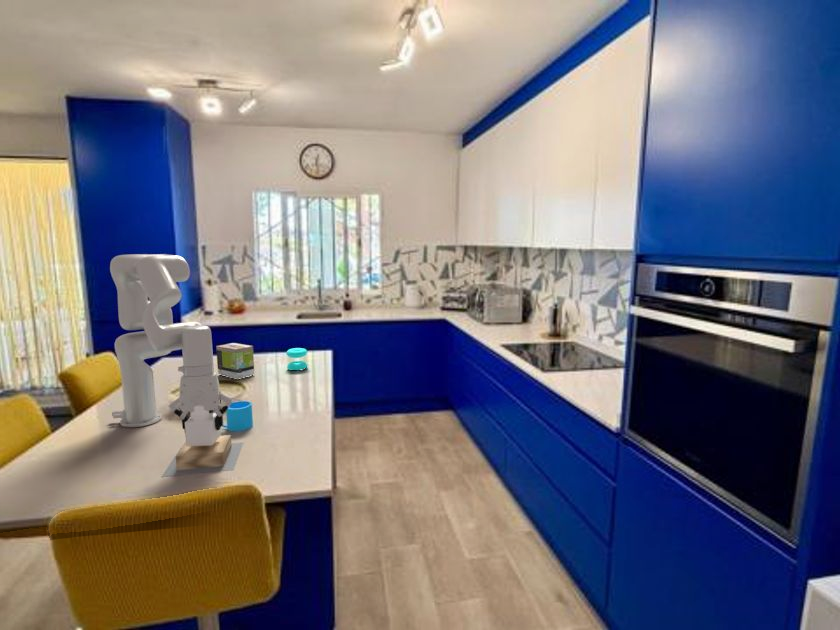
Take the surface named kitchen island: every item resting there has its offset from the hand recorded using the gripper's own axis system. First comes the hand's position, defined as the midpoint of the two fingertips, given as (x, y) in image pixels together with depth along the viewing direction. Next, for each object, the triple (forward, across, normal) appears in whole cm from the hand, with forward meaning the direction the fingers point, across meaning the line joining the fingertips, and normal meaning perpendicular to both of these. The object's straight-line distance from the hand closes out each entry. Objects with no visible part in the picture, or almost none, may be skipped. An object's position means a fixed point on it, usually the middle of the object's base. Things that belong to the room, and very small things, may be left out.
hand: (203, 429), depth 129 cm
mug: (+10, +4, +23) cm, 25 cm away
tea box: (+10, -6, +90) cm, 91 cm away
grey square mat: (+9, 0, 0) cm, 9 cm away
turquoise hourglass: (+10, +22, +96) cm, 99 cm away
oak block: (+9, 0, 0) cm, 9 cm away
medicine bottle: (+4, 0, 0) cm, 4 cm away
